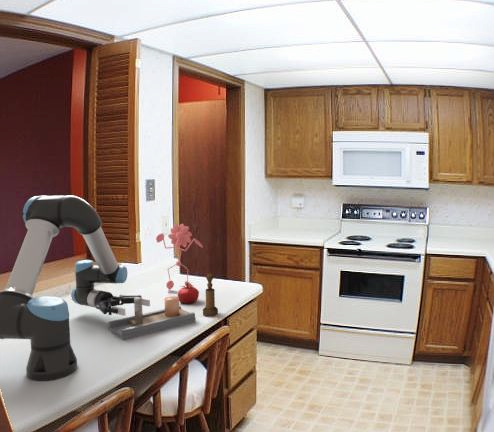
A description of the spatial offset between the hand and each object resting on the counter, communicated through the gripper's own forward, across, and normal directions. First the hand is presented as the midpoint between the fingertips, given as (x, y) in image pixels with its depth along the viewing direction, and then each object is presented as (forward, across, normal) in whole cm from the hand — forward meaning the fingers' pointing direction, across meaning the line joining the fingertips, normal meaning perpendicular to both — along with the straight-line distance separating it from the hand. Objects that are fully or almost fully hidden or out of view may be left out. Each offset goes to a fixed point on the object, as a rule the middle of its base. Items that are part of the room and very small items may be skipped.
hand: (137, 307), depth 187 cm
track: (+3, -5, -8) cm, 10 cm away
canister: (+6, -13, -6) cm, 16 cm away
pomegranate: (-5, -38, -9) cm, 39 cm away
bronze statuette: (+15, -28, -9) cm, 33 cm away
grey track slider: (+5, -9, -7) cm, 12 cm away
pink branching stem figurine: (-21, -52, -9) cm, 57 cm away
